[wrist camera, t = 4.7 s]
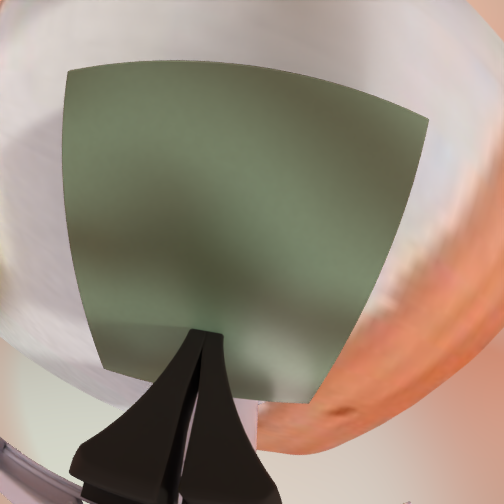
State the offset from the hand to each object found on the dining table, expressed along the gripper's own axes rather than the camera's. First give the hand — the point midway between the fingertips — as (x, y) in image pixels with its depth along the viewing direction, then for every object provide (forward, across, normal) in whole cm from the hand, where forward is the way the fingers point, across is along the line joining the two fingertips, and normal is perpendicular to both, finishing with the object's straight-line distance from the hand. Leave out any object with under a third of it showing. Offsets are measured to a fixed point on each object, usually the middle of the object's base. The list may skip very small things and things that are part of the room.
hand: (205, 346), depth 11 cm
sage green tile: (+1, 0, -3) cm, 3 cm away
